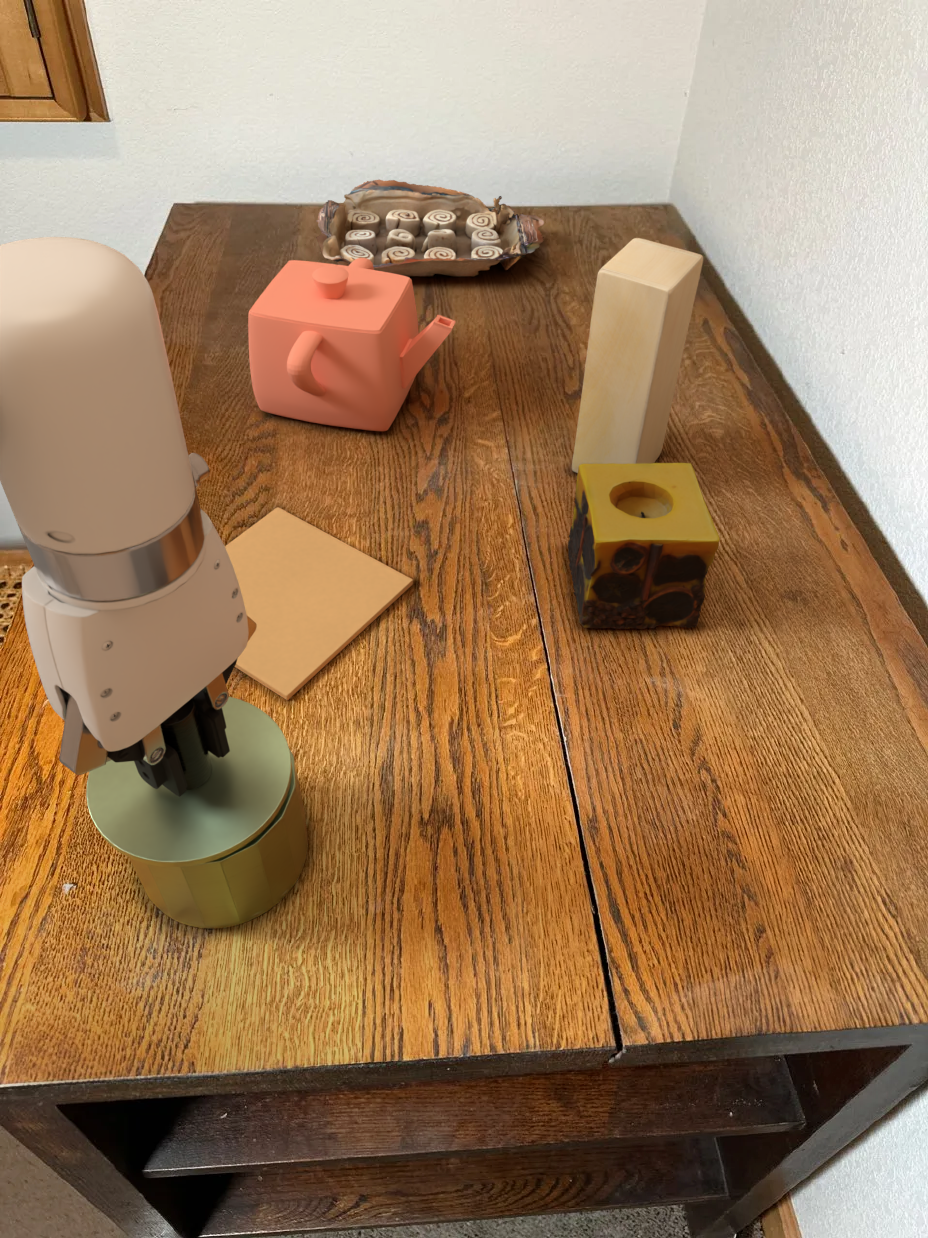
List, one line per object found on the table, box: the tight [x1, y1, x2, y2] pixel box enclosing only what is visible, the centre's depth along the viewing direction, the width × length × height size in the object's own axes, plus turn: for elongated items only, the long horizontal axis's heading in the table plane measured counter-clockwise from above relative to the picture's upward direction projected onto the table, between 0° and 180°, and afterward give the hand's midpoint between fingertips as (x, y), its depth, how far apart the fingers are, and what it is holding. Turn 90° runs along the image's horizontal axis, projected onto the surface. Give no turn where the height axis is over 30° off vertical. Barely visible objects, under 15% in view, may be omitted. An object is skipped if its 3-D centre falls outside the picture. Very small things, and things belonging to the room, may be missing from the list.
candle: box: [567, 462, 721, 630], centre depth 78 cm, size 10×10×10 cm
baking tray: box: [315, 179, 545, 277], centre depth 122 cm, size 30×22×5 cm
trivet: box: [224, 506, 414, 701], centre depth 80 cm, size 16×16×1 cm
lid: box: [85, 696, 292, 867], centre depth 54 cm, size 12×12×8 cm
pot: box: [128, 748, 309, 930], centre depth 61 cm, size 11×11×8 cm
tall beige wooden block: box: [571, 237, 704, 474], centre depth 86 cm, size 8×7×21 cm
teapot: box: [247, 258, 456, 432], centre depth 95 cm, size 20×22×14 cm
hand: (186, 760), depth 55 cm, fingers closed on lid, 2 cm apart
